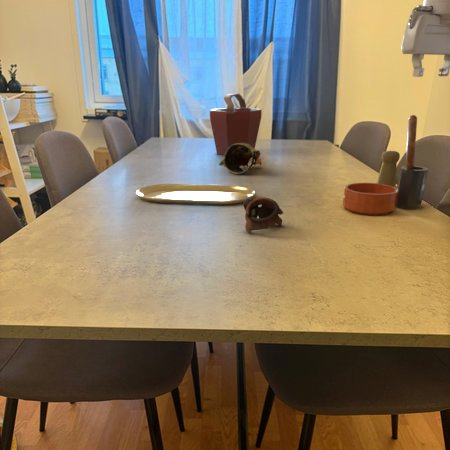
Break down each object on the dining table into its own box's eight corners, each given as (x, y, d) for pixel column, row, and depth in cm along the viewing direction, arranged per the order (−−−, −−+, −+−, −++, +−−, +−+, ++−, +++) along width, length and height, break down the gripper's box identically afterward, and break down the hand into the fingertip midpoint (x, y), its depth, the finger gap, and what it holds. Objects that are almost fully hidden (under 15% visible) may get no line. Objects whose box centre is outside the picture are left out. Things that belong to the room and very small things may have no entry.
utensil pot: (414, 202, 121) (421, 165, 116) (424, 209, 115) (433, 170, 110) (390, 202, 121) (396, 165, 116) (399, 209, 115) (406, 170, 110)
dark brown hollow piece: (293, 230, 101) (291, 204, 94) (264, 254, 99) (260, 230, 92) (258, 207, 107) (253, 181, 100) (230, 229, 105) (223, 205, 98)
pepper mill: (377, 189, 135) (382, 152, 130) (374, 184, 140) (379, 149, 135) (397, 189, 134) (403, 152, 129) (393, 185, 139) (400, 149, 134)
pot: (275, 143, 162) (255, 132, 146) (279, 173, 163) (259, 165, 147) (234, 156, 171) (212, 146, 155) (238, 184, 171) (216, 177, 155)
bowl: (385, 202, 121) (388, 182, 118) (402, 216, 109) (406, 194, 106) (337, 202, 121) (339, 182, 118) (349, 216, 109) (352, 194, 106)
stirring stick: (410, 200, 118) (415, 114, 108) (413, 202, 116) (418, 114, 106) (402, 201, 118) (407, 115, 108) (405, 203, 116) (410, 116, 106)
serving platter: (147, 188, 138) (147, 183, 137) (256, 191, 133) (257, 185, 133) (127, 203, 121) (127, 197, 121) (251, 207, 117) (251, 201, 116)
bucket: (240, 159, 184) (240, 94, 172) (198, 155, 195) (196, 94, 183) (267, 151, 202) (269, 92, 191) (227, 148, 213) (227, 92, 201)
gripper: (425, 2, 90) (412, 77, 96) (483, 8, 99) (468, 76, 105) (400, 6, 95) (390, 77, 101) (458, 11, 104) (445, 76, 110)
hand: (430, 76), depth 103 cm, fingers open, 8 cm apart
